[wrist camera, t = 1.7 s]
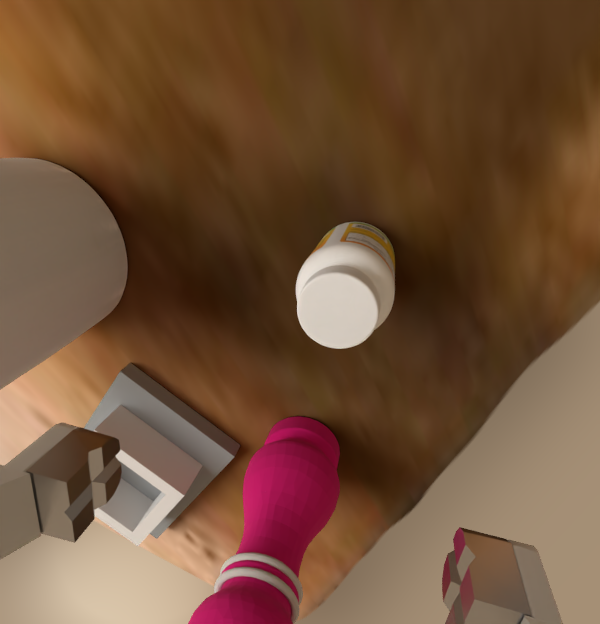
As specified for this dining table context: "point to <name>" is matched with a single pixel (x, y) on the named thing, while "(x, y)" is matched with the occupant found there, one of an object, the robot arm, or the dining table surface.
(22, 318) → the utensil holder
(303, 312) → the supplement bottle
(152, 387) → the docking board
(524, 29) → the dining table surface
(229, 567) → the pepper mill
